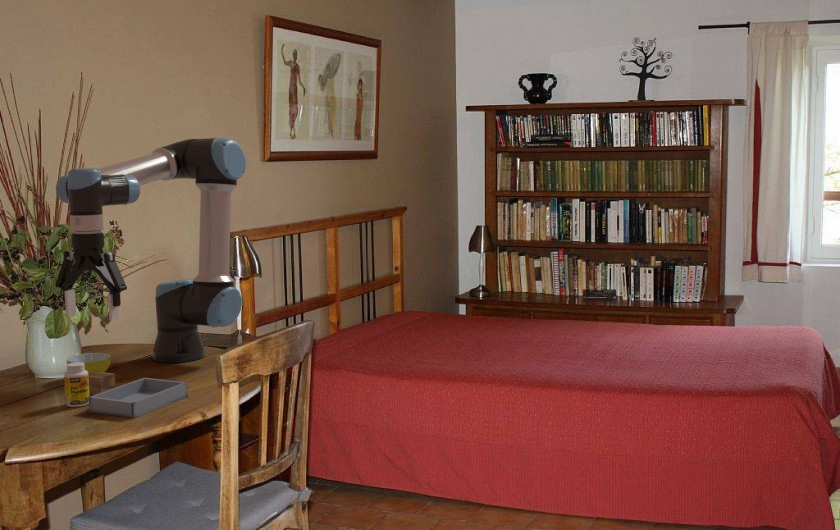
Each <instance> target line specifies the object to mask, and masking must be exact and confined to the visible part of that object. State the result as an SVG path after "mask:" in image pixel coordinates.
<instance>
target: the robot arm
mask: <svg viewBox="0 0 840 530" xmlns="http://www.w3.org/2000/svg"><path fill="white" fill-rule="evenodd" d="M246 167H247V161H246V155H245V152H244V150H243V149H242V148H241V146H240V144H239V143H238V142H237V141H235V140H234V139H231V138H224V137H223V138H222V137H217V138H216V137H214V138H212V137H211V138H210V137H209V138H187V139H183V140H180V141H177V142H173V143H171V144H168V145H164V146H161V147H158V148H155V149H154V150H153V151H152V153H150V154H146V155H143V156H139V157H136V158H132V159H129V160H126V161H121V162H119V163H114V164H111V165H107V166H104V167H100V168H96V167H95V168H90V167H89V168H88V167H87V168H85V167H84V168H83V167H82V168H71V169H69V170H68V173H67V174H65V175H62V176H60V178H59V179H57V182H56V185H55V194H56V195H57V198H58V199H59V200H60V201H61V202H63V203H65V204H68V207H69V208H68V209H69V219H70V231H71V232H73V233H71V235H70V236H71V238H70V240H71V248H72V249H74V250H66V251H64V252H63V260H62V263H61V266H60V269H59V273H58V275H57V279H56V281H55V288H57V289H58V288H59V289H61V291H62V302H63V303H64V304H65V317H66V318H70V317H74V316H77V304H76V289H74V286H75V284H76V282H77V281H78V279H79V277H80V276H81V274H82V272H83V271H87V270H88V271H93V272H94V273H96V274H97V275H98V276H99V278H100V279H101V280H102V282H103V283H104V285H105V286H106V287H107V289H108V291H109V292H108V294H107V299H108V300H107V301H108V303H107V304H108V316H109V317H108V319H109V321H111V322H112V321H114V320H119V319H120V318H121V317H120V306H121V304H122V303H121V293H122V292H125V291H126V290H127V289H128V286H127V284H126V282H125V279H124V277H123V275H122V273H121V271H120V268H119V265H118V264H117V262H116V256H115V253H114V252H113V251H110V252H104V247H105V233H104V232H103V231H104V228H105V227H104V218H103V217H104V215H103V214H104V213H103V207H106V206H119V205H120V206H121V205H122V206H123V205H124V206H125V205H129V204H133V203H135V202H137V201H138V199H140V198H139V197H140V195H141V186H143V185H147V184H150V183H153V182H156V181H159V180H161V181H165V182H167V181H171V180H175V179H189V180H190V179H194V180H195V184H194V185H195V186H196V187H197V188H198V189H199V191H200V201H199V202H200V206H199V207H200V209H199V240H198V241H199V244H198V246H199V247H198V273H197V275H196V276H195V277H194V278H185V279H177V280H170V281H165V282H160V283H158V284H157V286H156V288H155V297H154V300H155V311H156V328H157V333H156V334H157V335H156V338H155V341H154V346H153V348H152V359H153V360H154V361H156V362H159V363H184V362H192V361H196V360H200V359H203V358H204V357H205V356H206V348H205V346H204V344H203V340H202V337H201V334H200V332H199V326H203V327H204V326H205V327H212V328H225V327H229V326H230V325H232V324H233V323H235V322H236V319H238V317H239V316H240V313H241V311H242V306H243V297H242V294H240V293H241V292H240V291H239V289H238V288H236V287H235V280H234V278H232V276H230V275H231V274H230V247H231V244H230V243H231V215H232V214H231V213H232V212H231V210H232V209H231V208H232V205H231V204H232V203H231V202H232V192H233V191H234V190H235V189H236V188H237V186H238V185H237V184H238V183H237V181H238V180H239V179H241V178H242V177H243V176H244V173H245V172H246Z"/></svg>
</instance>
